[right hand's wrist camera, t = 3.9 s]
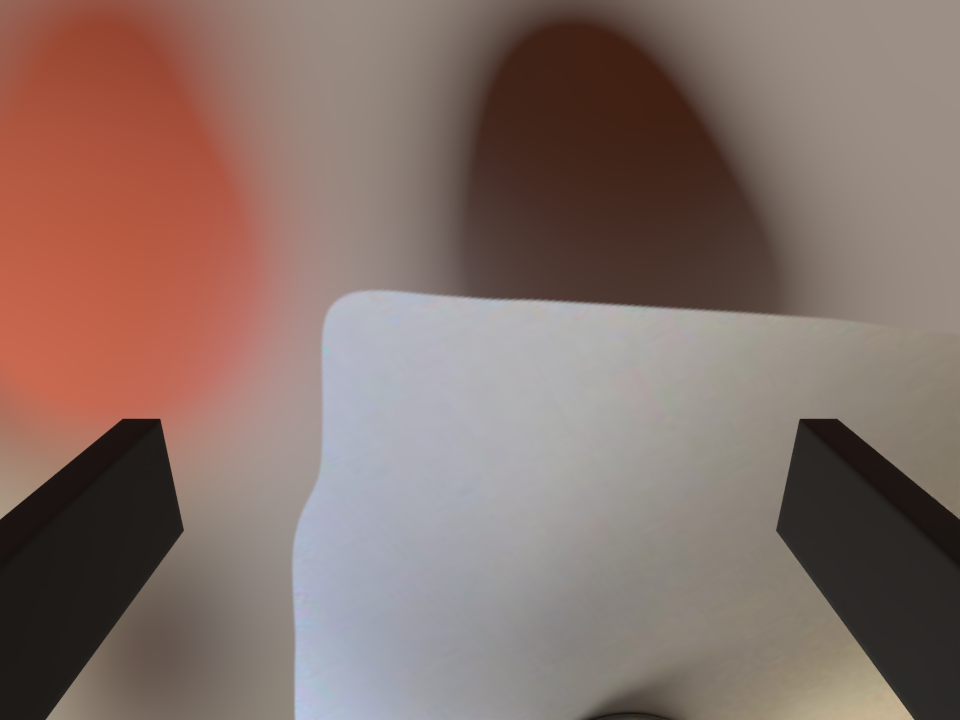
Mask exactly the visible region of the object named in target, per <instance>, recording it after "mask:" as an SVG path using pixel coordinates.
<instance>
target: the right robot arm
mask: <svg viewBox="0 0 960 720" xmlns="http://www.w3.org/2000/svg"><path fill="white" fill-rule="evenodd" d="M183 531H184V529H183V524H182V520H181V515H180V510H179V506H178V501H177V496H176V491H175V486H174V482H173V477H172V472H171V468H170V463H169V458H168V453H167V449H166V444H165V439H164V434H163V430H162V425H161V420H160V419H122V420H121V421H120V422H118V423H117V424H116V425H115V426H114V427H112V428H111V429H110V430H109V431H108V432H106V433H105V434H104V435H103V436H101V437H100V438H99V439H98V440H97V441H95V442H94V443H93V444H92V445H91V446H89V447H88V448H87V449H86V450H84V451H83V452H82V453H81V454H80V455H78V456H77V457H76V458H75V459H73V460H72V461H71V462H70V463H69V464H67V465H66V466H65V467H64V468H62V469H61V470H60V471H59V472H58V473H56V474H55V475H54V476H53V477H52V478H50V479H49V480H48V481H47V482H45V483H44V484H43V485H42V486H41V487H39V488H38V489H37V490H36V491H34V492H33V493H32V494H31V495H30V496H28V497H27V498H26V499H25V500H24V501H22V502H21V503H20V504H19V505H17V506H16V507H15V508H14V509H13V510H11V511H10V512H9V513H8V514H6V515H5V516H4V517H3V518H2V519H0V720H46V718H47V717H48V716H49V714H50V713H51V712H52V710H53V709H54V707H55V706H56V705H57V703H58V702H59V701H60V699H61V698H62V697H63V695H64V694H65V692H66V691H67V690H68V688H69V687H70V685H71V684H72V683H73V681H74V680H75V679H76V677H77V676H78V675H79V673H80V672H81V671H82V669H83V668H84V666H85V665H86V664H87V662H88V661H89V660H90V658H91V657H92V655H93V654H94V653H95V651H96V650H97V649H98V647H99V646H100V645H101V643H102V642H103V640H104V639H105V638H106V636H107V635H108V634H109V632H110V631H111V629H112V628H113V627H114V625H115V624H116V623H117V621H118V620H119V619H120V617H121V616H122V614H123V613H124V612H125V610H126V609H127V608H128V606H129V605H130V604H131V602H132V601H133V599H134V598H135V597H136V595H137V594H138V592H139V591H140V590H141V588H142V587H143V586H144V584H145V583H146V582H147V580H148V579H149V578H150V576H151V575H152V573H153V572H154V571H155V569H156V568H157V567H158V565H159V564H160V562H161V561H162V560H163V558H164V557H165V556H166V554H167V553H168V552H169V550H170V549H171V547H172V546H173V545H174V543H175V542H176V541H177V539H178V538H179V537H180V535H181V534H182V532H183ZM776 531H777V532H778V534H779V535H780V537H781V538H782V539H783V541H784V542H785V543H786V545H787V546H788V547H789V549H790V550H791V552H792V553H793V554H794V556H795V557H796V558H797V560H798V561H799V562H800V564H801V565H802V567H803V568H804V569H805V571H806V572H807V573H808V575H809V576H810V578H811V579H812V580H813V582H814V583H815V584H816V586H817V587H818V588H819V590H820V591H821V593H822V594H823V595H824V597H825V598H826V599H827V601H828V602H829V604H830V605H831V606H832V608H833V609H834V610H835V612H836V613H837V614H838V616H839V617H840V619H841V620H842V621H843V623H844V624H845V625H846V627H847V628H848V630H849V631H850V632H851V634H852V635H853V636H854V638H855V639H856V640H857V642H858V643H859V645H860V646H861V647H862V649H863V650H864V651H865V653H866V654H867V655H868V657H869V658H870V660H871V661H872V662H873V664H874V665H875V666H876V668H877V669H878V671H879V672H880V673H881V675H882V676H883V677H884V679H885V680H886V681H887V683H888V684H889V686H890V687H891V688H892V690H893V691H894V692H895V694H896V695H897V697H898V698H899V699H900V701H901V702H902V703H903V705H904V706H905V707H906V709H907V710H908V712H909V713H910V714H911V716H912V717H913V718H914V720H960V519H958V518H957V517H956V516H955V515H954V514H952V513H951V512H950V511H949V510H947V509H946V508H945V507H944V506H943V505H941V504H940V503H939V502H938V501H936V500H935V499H934V498H933V497H932V496H930V495H929V494H928V493H927V492H926V491H924V490H923V489H922V488H921V487H919V486H918V485H917V484H916V483H915V482H913V481H912V480H911V479H910V478H908V477H907V476H906V475H905V474H904V473H902V472H901V471H900V470H899V469H898V468H896V467H895V466H894V465H893V464H891V463H890V462H889V461H888V460H887V459H885V458H884V457H883V456H882V455H880V454H879V453H878V452H877V451H876V450H874V449H873V448H872V447H871V446H870V445H868V444H867V443H866V442H865V441H863V440H862V439H861V438H860V437H859V436H857V435H856V434H855V433H854V432H852V431H851V430H850V429H849V428H848V427H846V426H845V425H844V424H843V423H842V422H840V421H839V420H838V419H800V420H799V425H798V430H797V434H796V439H795V444H794V449H793V453H792V458H791V463H790V468H789V472H788V477H787V482H786V486H785V491H784V496H783V501H782V505H781V510H780V515H779V520H778V524H777V529H776ZM595 720H666V719H663V718H659V717H655V716H650V715H642V714H620V715H612V716H606V717H602V718H598V719H595Z"/></svg>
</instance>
